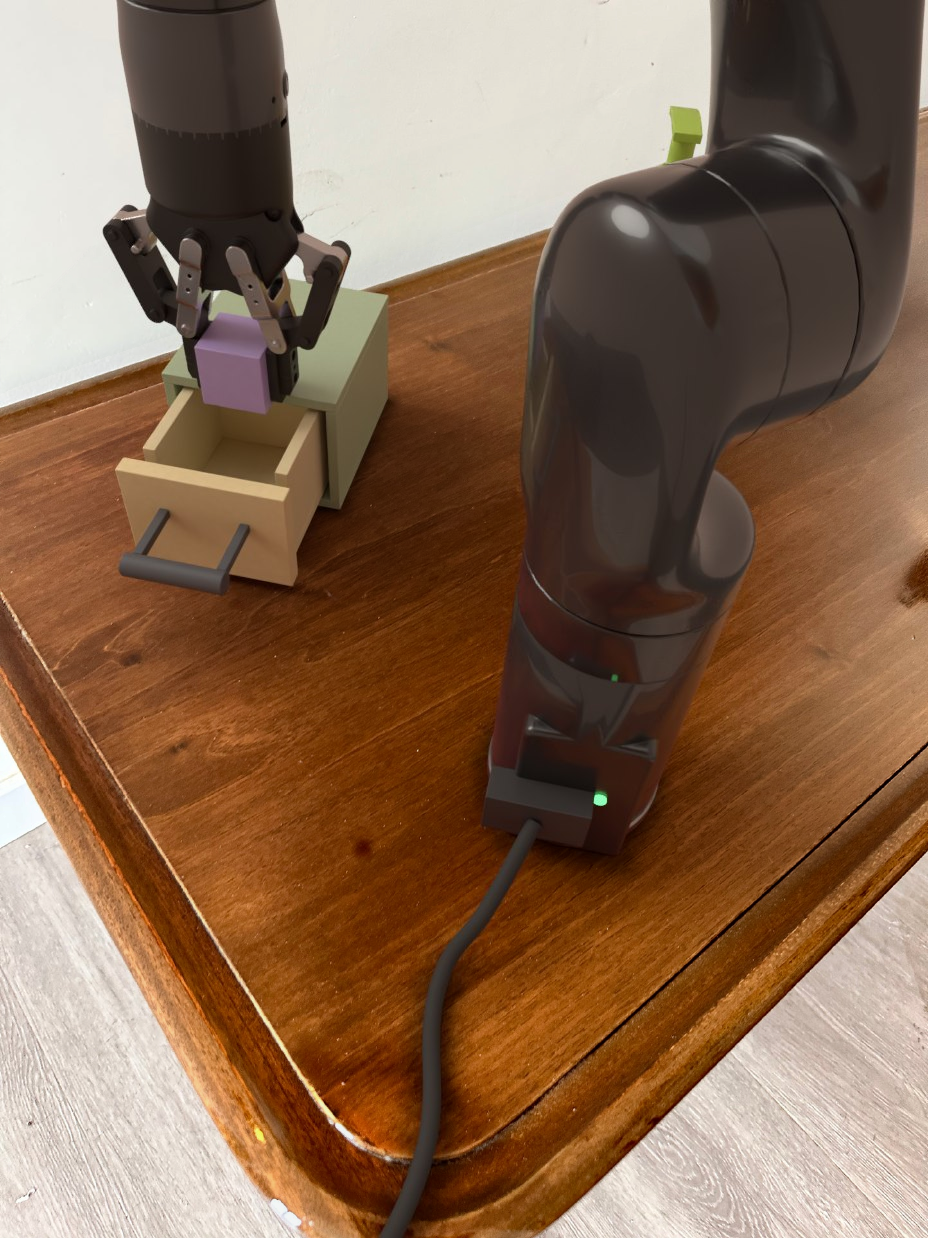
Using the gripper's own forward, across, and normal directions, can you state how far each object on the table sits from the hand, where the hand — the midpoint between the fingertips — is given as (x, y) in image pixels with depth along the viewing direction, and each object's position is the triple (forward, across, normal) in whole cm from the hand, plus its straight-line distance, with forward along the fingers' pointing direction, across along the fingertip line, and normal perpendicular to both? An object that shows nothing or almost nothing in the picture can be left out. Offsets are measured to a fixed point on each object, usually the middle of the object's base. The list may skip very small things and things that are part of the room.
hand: (246, 387), depth 59 cm
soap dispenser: (+9, +24, +23) cm, 35 cm away
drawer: (+8, 0, -5) cm, 10 cm away
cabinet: (+9, 0, +7) cm, 11 cm away
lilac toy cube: (0, 0, 0) cm, 0 cm away
